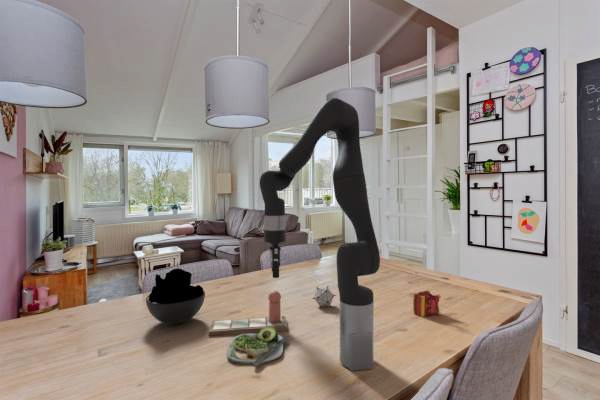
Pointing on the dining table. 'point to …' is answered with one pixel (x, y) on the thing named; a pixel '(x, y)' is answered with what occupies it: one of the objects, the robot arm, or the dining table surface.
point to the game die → (323, 297)
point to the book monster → (426, 303)
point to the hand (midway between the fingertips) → (275, 274)
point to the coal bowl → (175, 297)
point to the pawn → (274, 307)
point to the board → (244, 326)
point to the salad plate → (257, 346)
